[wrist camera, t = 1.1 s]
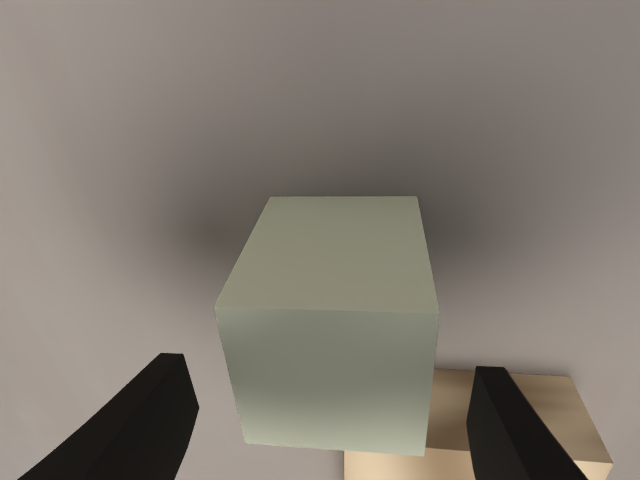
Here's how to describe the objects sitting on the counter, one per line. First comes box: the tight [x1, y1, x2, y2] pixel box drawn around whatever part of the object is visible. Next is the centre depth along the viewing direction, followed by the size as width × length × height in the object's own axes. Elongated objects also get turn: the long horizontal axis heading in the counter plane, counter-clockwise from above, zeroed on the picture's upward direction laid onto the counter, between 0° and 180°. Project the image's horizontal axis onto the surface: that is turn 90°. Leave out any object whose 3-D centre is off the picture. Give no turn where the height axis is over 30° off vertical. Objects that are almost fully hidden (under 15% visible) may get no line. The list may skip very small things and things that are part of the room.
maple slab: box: [344, 368, 613, 480], centre depth 19 cm, size 9×9×4 cm
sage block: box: [213, 196, 440, 456], centre depth 13 cm, size 5×5×6 cm
